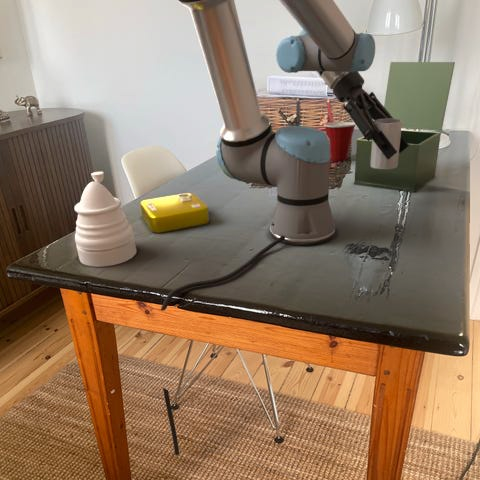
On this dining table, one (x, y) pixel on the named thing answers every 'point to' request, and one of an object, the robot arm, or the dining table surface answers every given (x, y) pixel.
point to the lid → (419, 93)
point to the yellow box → (174, 212)
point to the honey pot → (102, 227)
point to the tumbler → (393, 134)
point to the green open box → (400, 163)
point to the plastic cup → (339, 139)
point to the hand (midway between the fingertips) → (398, 152)
